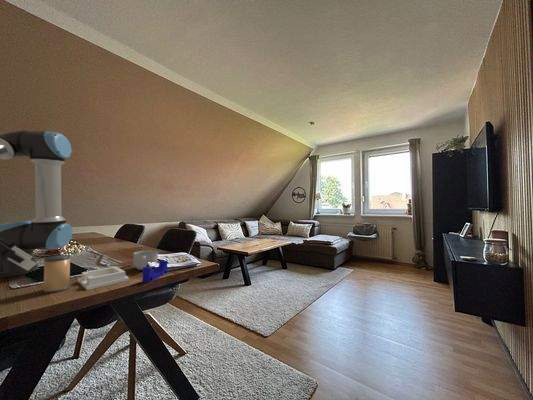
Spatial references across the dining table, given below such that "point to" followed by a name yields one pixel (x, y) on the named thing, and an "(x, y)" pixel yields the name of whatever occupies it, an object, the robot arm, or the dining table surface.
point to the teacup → (144, 258)
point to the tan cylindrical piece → (56, 273)
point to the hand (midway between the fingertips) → (30, 263)
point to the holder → (102, 277)
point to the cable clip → (154, 271)
